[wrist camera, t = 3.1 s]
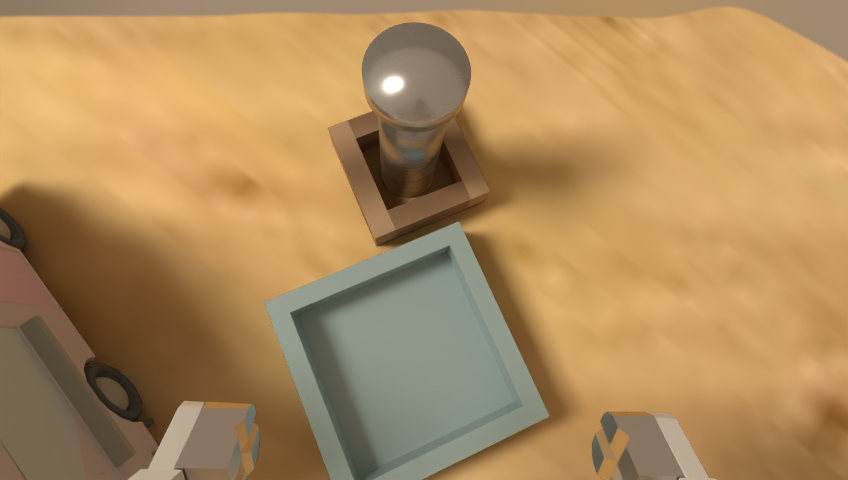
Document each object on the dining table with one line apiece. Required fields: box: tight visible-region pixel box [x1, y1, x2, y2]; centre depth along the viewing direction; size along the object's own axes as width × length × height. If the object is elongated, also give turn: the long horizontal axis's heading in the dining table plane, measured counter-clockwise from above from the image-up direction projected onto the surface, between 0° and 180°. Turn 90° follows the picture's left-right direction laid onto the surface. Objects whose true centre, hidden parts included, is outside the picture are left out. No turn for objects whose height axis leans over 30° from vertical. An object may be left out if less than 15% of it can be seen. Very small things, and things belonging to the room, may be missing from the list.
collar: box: [328, 111, 490, 246], centre depth 28 cm, size 7×7×2 cm
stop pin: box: [362, 22, 471, 197], centre depth 24 cm, size 4×4×11 cm
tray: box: [264, 222, 549, 480], centre depth 26 cm, size 11×11×2 cm
